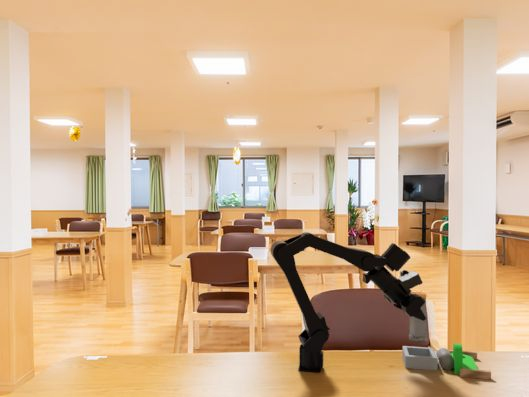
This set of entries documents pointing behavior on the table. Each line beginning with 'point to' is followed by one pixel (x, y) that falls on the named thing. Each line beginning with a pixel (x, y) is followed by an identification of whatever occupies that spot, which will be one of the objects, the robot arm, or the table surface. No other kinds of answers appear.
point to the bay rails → (470, 372)
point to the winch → (426, 358)
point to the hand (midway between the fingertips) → (422, 317)
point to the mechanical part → (461, 359)
